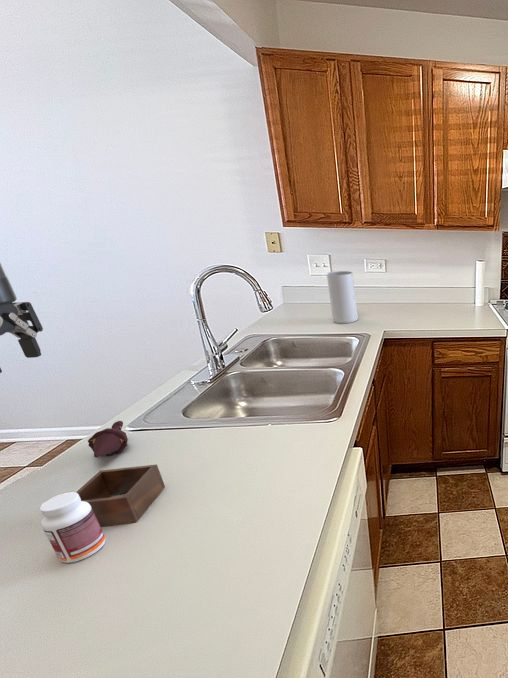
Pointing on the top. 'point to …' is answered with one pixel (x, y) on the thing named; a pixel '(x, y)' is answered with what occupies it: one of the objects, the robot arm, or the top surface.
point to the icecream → (109, 441)
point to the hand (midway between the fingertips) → (14, 365)
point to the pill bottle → (71, 527)
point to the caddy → (131, 481)
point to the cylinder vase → (342, 296)
